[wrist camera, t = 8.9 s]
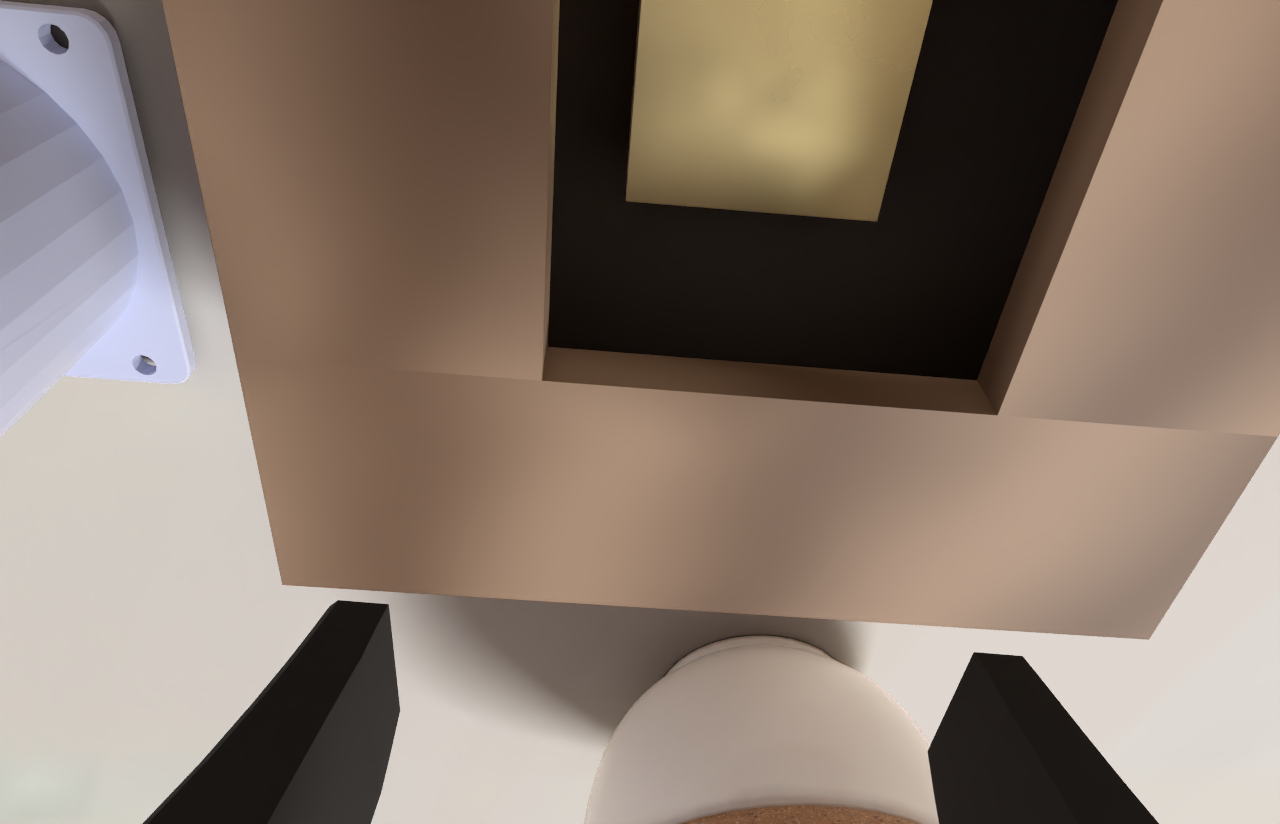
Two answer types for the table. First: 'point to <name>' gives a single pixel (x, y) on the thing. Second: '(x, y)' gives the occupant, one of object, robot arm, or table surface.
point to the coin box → (715, 389)
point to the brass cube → (771, 103)
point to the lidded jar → (764, 745)
